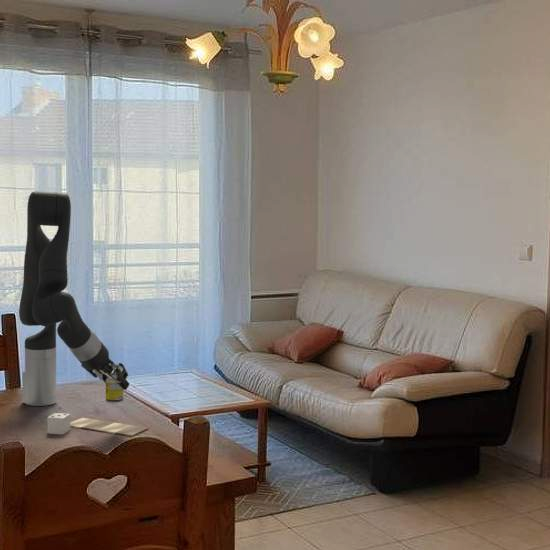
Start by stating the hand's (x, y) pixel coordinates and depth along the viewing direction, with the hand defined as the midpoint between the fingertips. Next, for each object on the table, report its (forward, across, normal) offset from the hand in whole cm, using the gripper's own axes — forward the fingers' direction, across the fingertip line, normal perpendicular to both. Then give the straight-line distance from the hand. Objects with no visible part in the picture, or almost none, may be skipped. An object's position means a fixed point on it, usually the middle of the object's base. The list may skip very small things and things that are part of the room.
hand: (119, 385), depth 223 cm
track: (+7, +3, +10) cm, 12 cm away
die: (0, +10, +17) cm, 20 cm away
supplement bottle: (+2, 0, +4) cm, 5 cm away
